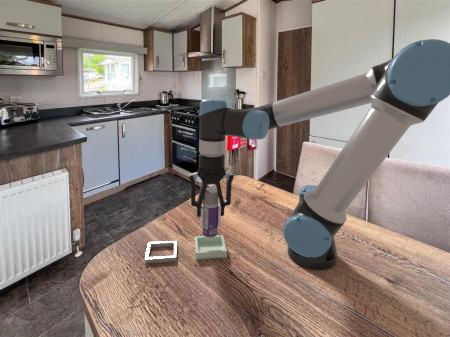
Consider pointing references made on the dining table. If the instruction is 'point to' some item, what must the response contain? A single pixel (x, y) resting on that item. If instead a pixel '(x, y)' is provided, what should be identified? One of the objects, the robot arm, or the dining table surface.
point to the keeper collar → (164, 258)
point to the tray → (210, 247)
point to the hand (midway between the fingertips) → (210, 225)
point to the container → (210, 212)
